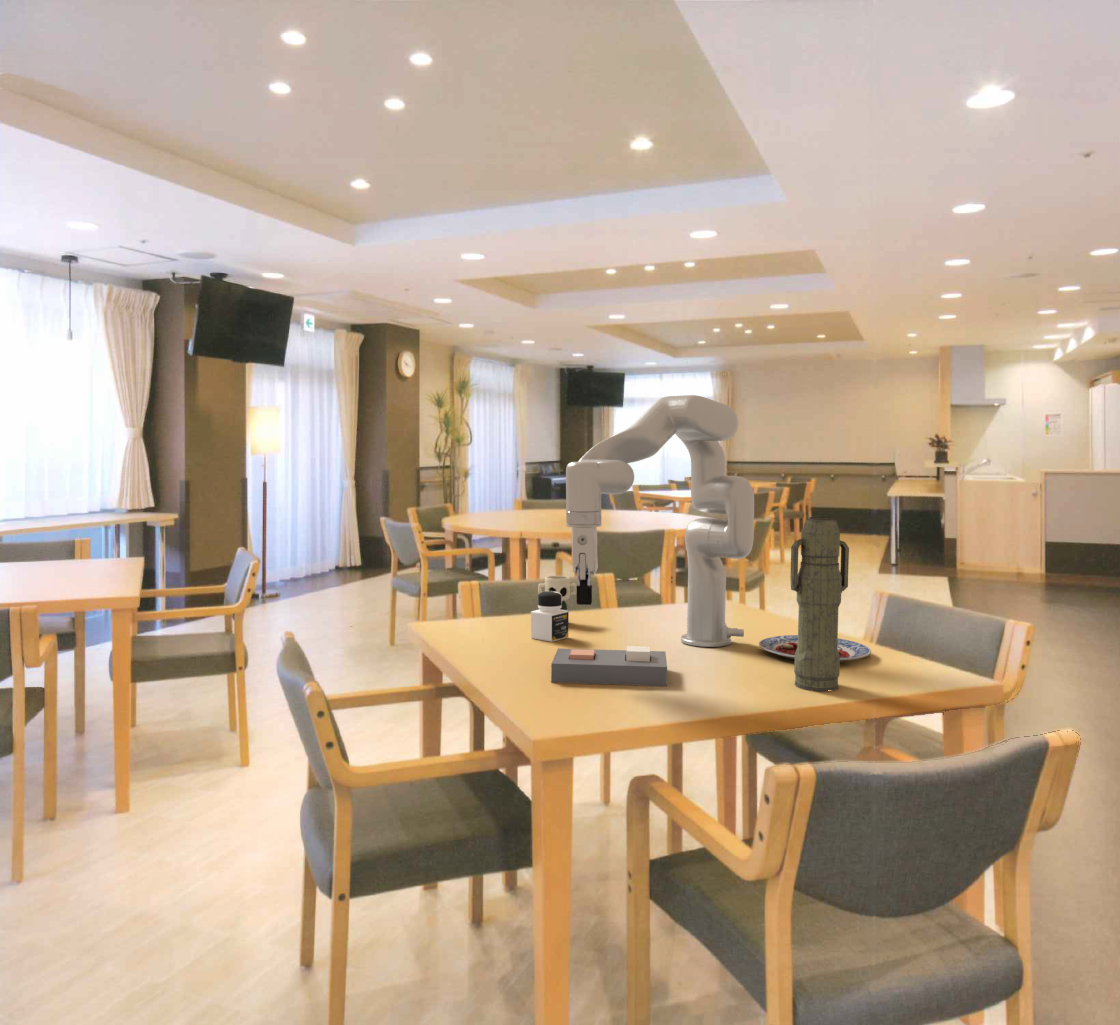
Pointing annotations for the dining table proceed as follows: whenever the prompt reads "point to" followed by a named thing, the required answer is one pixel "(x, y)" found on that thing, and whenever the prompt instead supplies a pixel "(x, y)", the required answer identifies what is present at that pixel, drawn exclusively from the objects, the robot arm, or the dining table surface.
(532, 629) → the medicine bottle
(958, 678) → the dining table surface
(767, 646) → the ceramic plate
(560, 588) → the character mug
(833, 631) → the thermos
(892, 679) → the dining table surface
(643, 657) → the ivory key
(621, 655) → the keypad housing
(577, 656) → the terracotta key
